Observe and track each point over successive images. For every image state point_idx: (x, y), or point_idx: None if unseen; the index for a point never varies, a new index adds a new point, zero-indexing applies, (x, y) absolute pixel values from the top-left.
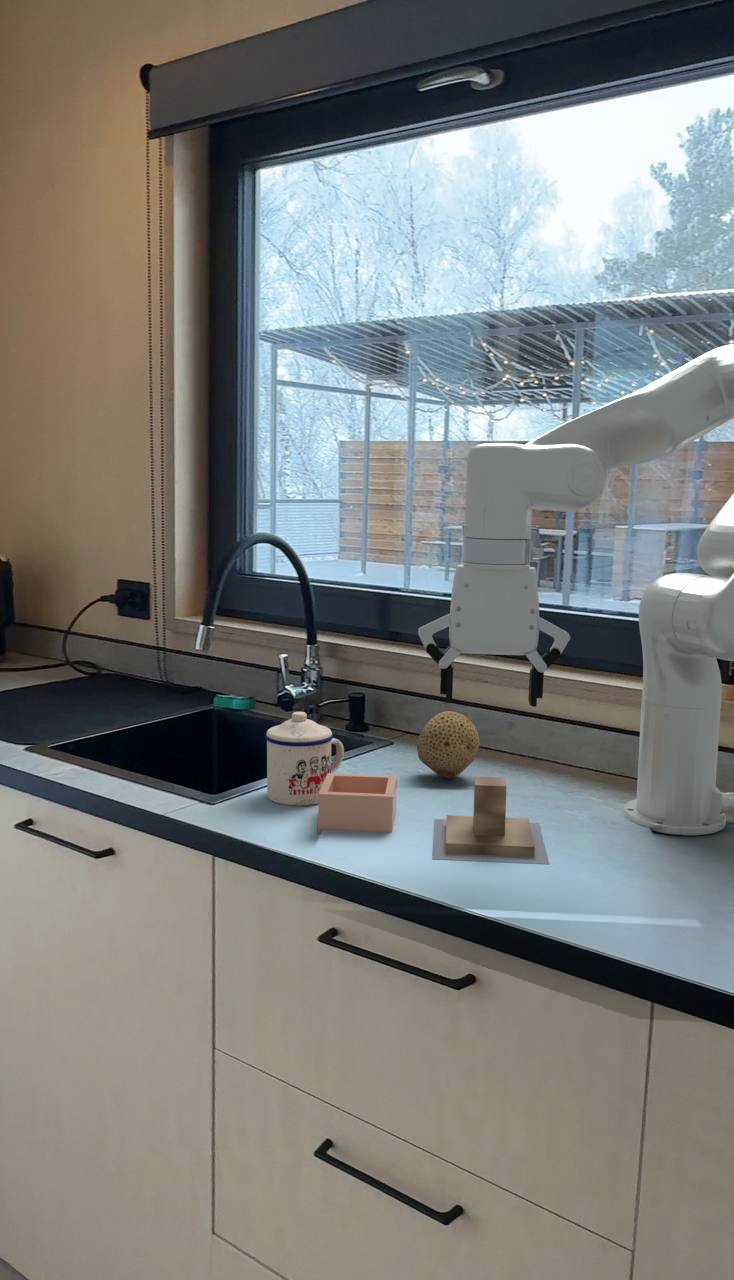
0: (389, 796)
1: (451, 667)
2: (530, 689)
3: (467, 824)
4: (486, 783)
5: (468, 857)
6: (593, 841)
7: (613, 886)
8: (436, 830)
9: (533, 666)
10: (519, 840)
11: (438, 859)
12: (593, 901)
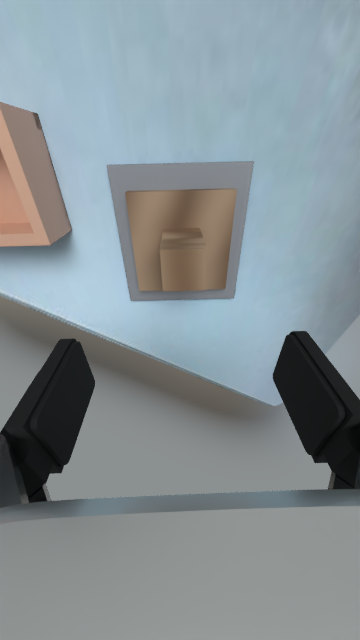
0: (45, 244)
1: (52, 466)
2: (290, 399)
3: (156, 228)
4: (178, 282)
5: (162, 293)
6: (305, 209)
7: (275, 319)
8: (119, 217)
9: (332, 471)
10: (212, 274)
11: (136, 300)
12: (250, 343)
